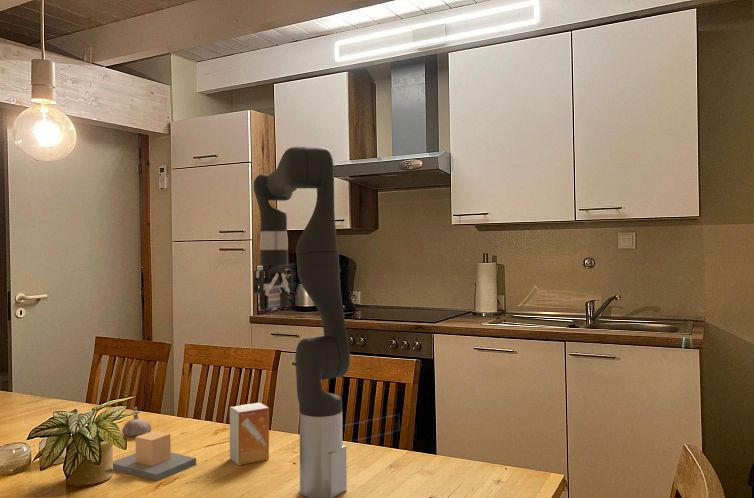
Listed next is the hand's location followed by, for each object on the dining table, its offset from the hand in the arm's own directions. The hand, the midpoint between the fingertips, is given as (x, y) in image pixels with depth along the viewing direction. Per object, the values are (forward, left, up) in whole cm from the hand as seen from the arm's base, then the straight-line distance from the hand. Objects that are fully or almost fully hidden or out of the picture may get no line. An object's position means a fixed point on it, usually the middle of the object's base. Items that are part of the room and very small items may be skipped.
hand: (274, 308), depth 165 cm
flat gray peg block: (+14, +29, -36) cm, 48 cm away
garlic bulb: (+38, +14, -36) cm, 54 cm away
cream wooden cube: (+14, +29, -35) cm, 47 cm away
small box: (-3, +14, -36) cm, 39 cm away
